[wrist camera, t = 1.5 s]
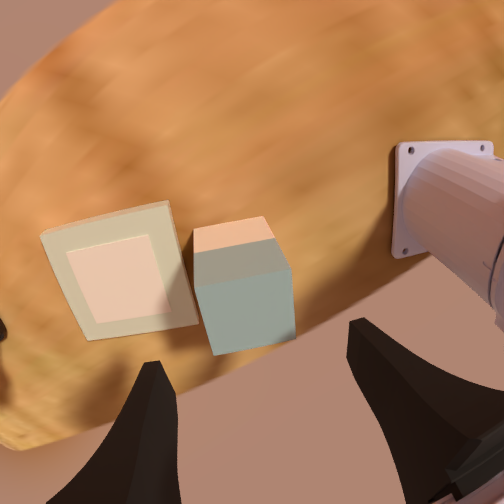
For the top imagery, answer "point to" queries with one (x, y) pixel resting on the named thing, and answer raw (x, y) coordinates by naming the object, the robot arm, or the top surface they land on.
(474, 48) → the top surface
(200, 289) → the brick stack
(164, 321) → the plate
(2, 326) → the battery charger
